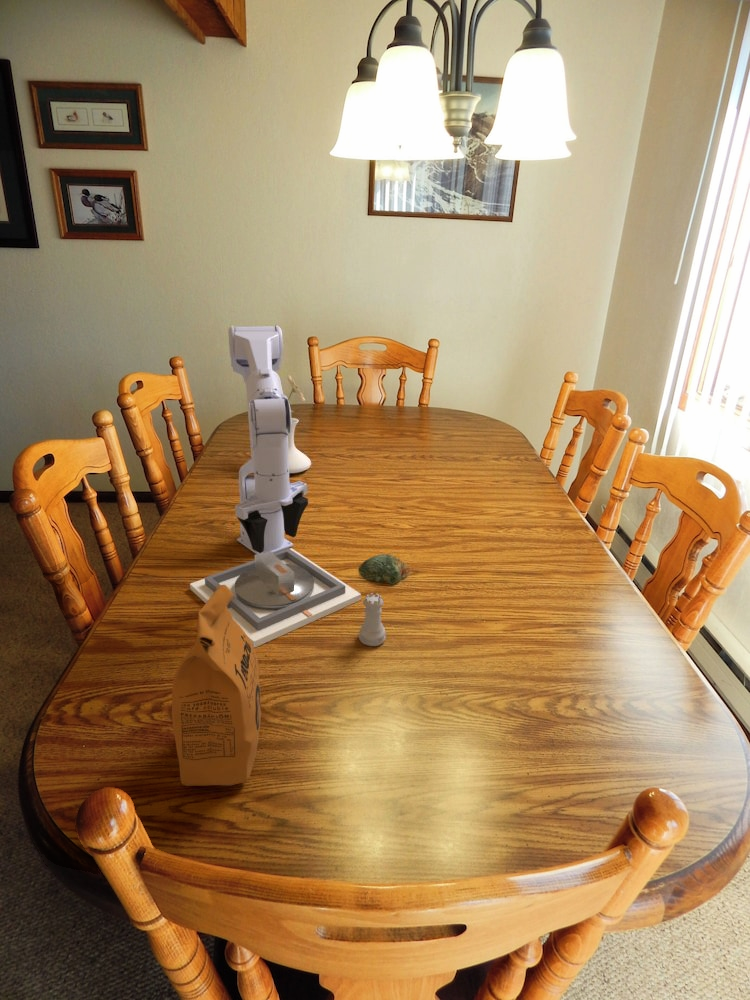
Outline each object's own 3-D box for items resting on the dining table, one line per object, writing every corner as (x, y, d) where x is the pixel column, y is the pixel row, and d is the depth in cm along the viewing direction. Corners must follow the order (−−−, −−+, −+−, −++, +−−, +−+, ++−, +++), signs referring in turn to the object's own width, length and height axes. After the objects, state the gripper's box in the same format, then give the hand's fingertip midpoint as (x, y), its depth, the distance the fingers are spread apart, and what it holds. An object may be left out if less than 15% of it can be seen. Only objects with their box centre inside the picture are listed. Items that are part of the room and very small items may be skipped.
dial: (257, 618, 103) (255, 591, 101) (222, 581, 113) (220, 556, 111) (328, 593, 111) (328, 567, 109) (289, 560, 121) (289, 536, 119)
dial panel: (190, 589, 113) (189, 576, 112) (291, 553, 127) (291, 541, 126) (254, 647, 98) (253, 633, 97) (360, 599, 112) (361, 586, 111)
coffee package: (273, 719, 84) (266, 579, 76) (251, 796, 73) (240, 641, 64) (200, 714, 85) (185, 574, 76) (168, 790, 73) (145, 636, 65)
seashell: (401, 539, 125) (417, 564, 116) (402, 557, 127) (417, 583, 118) (352, 547, 123) (364, 573, 114) (354, 565, 125) (366, 592, 116)
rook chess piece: (370, 627, 104) (371, 586, 101) (391, 638, 102) (393, 596, 98) (352, 639, 101) (353, 597, 98) (374, 651, 98) (375, 608, 95)
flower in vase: (308, 477, 164) (307, 384, 154) (265, 476, 165) (261, 382, 154) (314, 460, 176) (313, 372, 166) (274, 459, 176) (270, 371, 166)
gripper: (254, 488, 96) (258, 565, 101) (319, 464, 106) (320, 535, 112) (224, 477, 100) (230, 551, 105) (290, 454, 110) (292, 523, 116)
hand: (274, 542), depth 109 cm, fingers open, 7 cm apart
